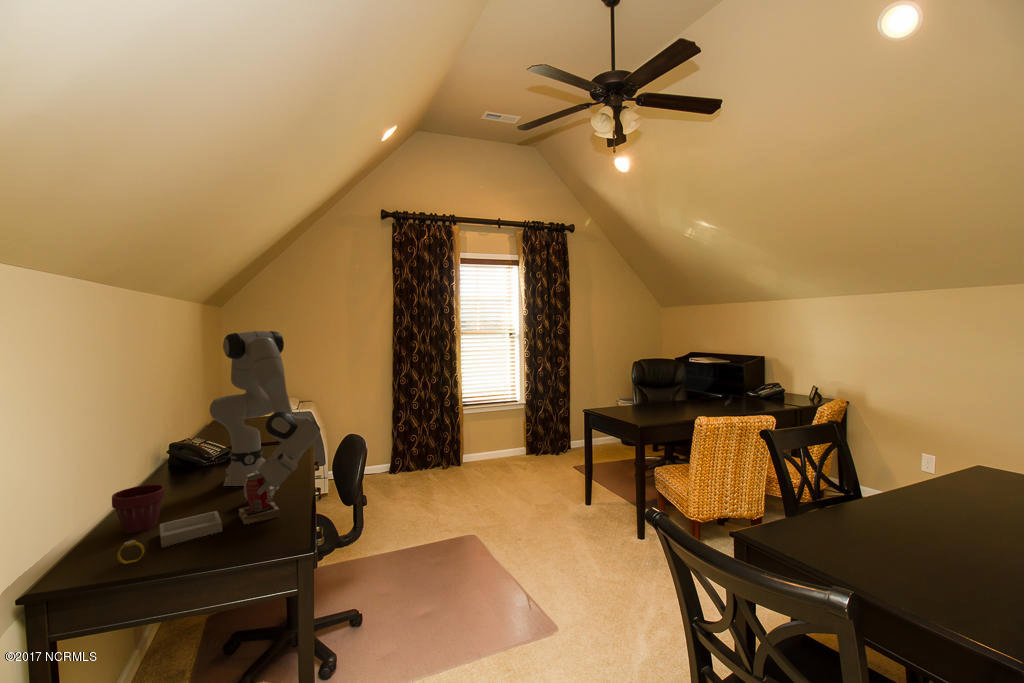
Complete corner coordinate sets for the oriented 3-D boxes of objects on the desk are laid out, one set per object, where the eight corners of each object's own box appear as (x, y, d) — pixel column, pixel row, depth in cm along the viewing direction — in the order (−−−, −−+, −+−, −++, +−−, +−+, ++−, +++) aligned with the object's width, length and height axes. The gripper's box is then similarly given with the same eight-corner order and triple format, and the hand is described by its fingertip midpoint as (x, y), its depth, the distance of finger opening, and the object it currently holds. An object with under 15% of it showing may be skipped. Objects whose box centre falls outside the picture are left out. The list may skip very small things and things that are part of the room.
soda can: (269, 503, 171) (264, 471, 170) (274, 508, 166) (269, 475, 165) (247, 509, 167) (243, 477, 166) (252, 515, 161) (247, 481, 160)
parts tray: (160, 534, 153) (159, 524, 153) (217, 520, 163) (217, 510, 163) (161, 548, 143) (160, 536, 142) (222, 532, 152) (221, 521, 152)
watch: (117, 567, 132) (114, 547, 131) (120, 563, 134) (117, 543, 134) (143, 560, 134) (140, 540, 134) (146, 556, 137) (143, 537, 137)
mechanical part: (285, 498, 183) (283, 468, 183) (254, 508, 173) (252, 476, 173) (269, 493, 189) (268, 464, 189) (239, 503, 179) (237, 472, 179)
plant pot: (174, 523, 162) (172, 486, 161) (125, 540, 149) (123, 500, 149) (154, 516, 169) (152, 481, 168) (105, 532, 156) (103, 494, 156)
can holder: (239, 515, 166) (238, 509, 166) (273, 507, 173) (272, 501, 173) (244, 525, 158) (244, 518, 158) (279, 516, 164) (279, 509, 164)
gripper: (271, 447, 177) (243, 478, 172) (284, 458, 161) (253, 493, 156) (284, 456, 180) (257, 487, 175) (298, 468, 164) (269, 503, 159)
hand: (255, 490), depth 165 cm, fingers closed on soda can, 6 cm apart
